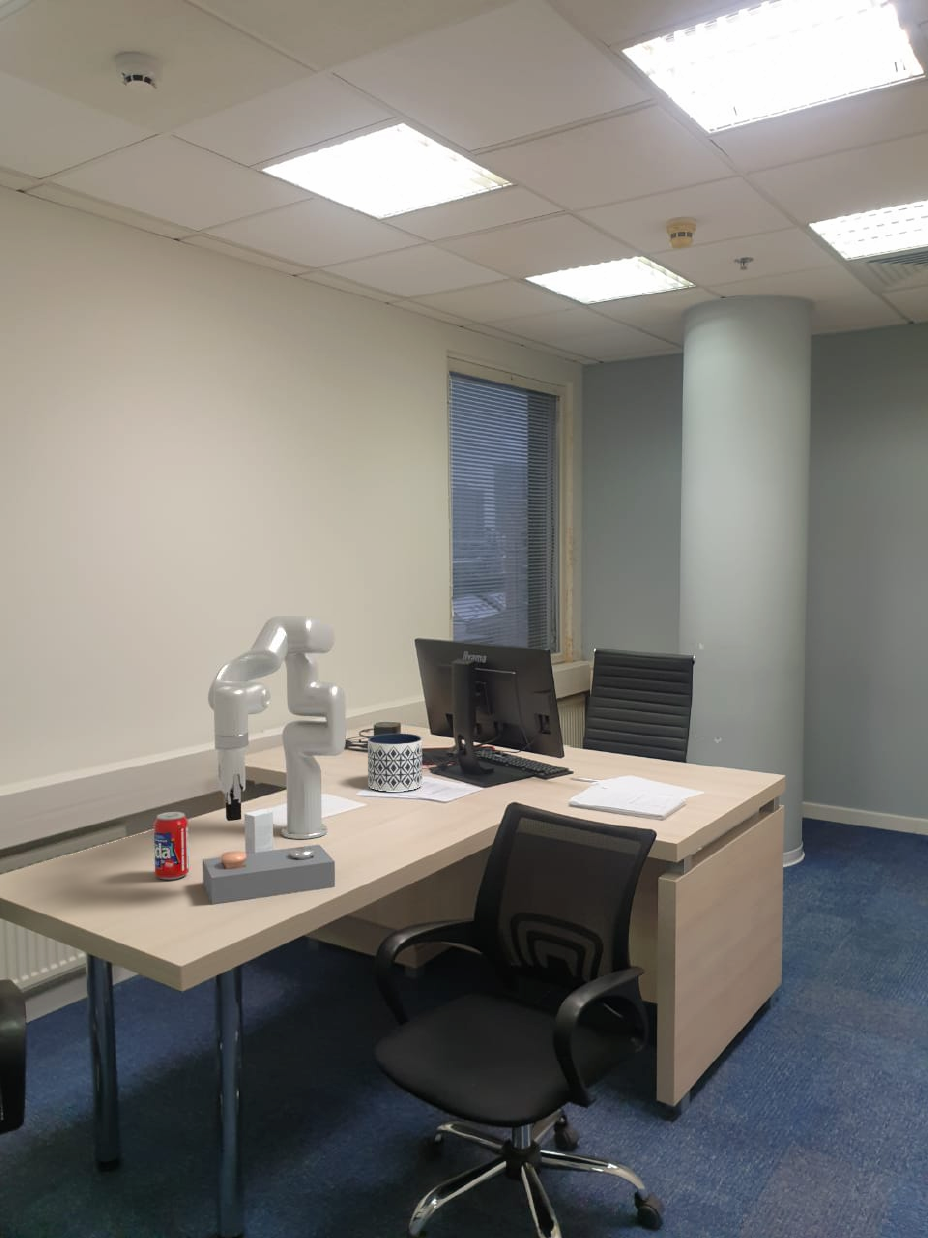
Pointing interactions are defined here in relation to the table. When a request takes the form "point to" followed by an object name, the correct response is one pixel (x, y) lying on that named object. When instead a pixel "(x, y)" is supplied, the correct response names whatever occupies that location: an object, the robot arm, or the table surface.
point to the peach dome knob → (233, 859)
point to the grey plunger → (301, 853)
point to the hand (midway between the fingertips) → (233, 819)
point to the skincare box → (258, 831)
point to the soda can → (171, 846)
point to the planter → (394, 762)
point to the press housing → (267, 875)
